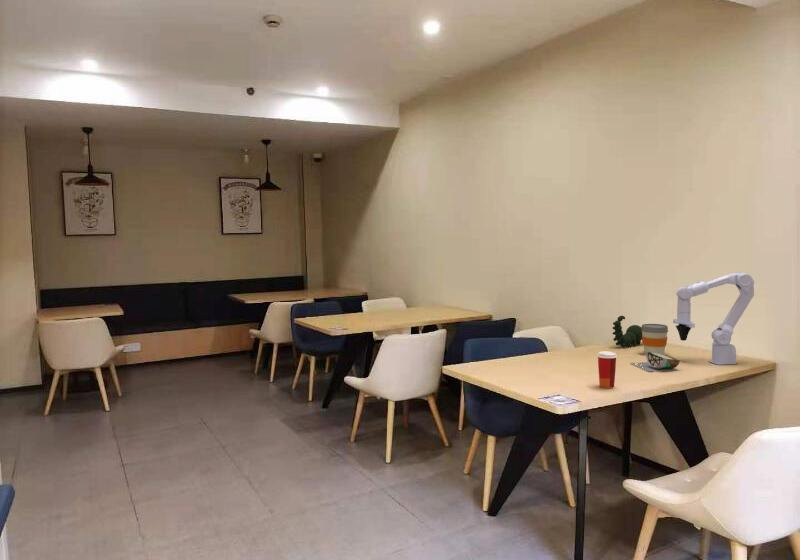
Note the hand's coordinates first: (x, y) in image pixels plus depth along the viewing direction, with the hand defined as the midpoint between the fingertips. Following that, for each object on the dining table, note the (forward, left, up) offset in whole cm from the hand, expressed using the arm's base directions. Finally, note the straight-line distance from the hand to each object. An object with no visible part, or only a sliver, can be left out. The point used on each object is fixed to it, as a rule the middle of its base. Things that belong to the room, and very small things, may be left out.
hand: (683, 340), depth 269 cm
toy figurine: (+6, -40, -11) cm, 42 cm away
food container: (+12, +11, -9) cm, 18 cm away
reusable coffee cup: (+5, -17, -11) cm, 21 cm away
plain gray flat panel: (+20, +8, -10) cm, 24 cm away
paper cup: (+55, +36, -11) cm, 67 cm away
